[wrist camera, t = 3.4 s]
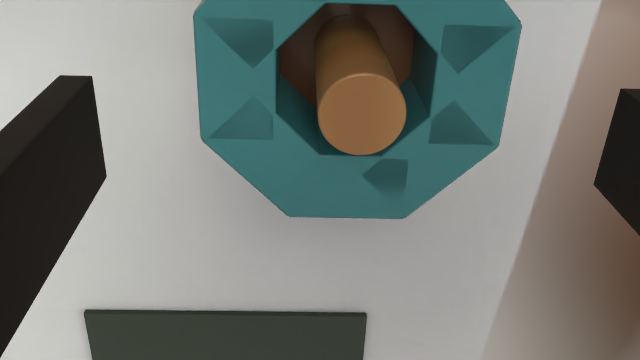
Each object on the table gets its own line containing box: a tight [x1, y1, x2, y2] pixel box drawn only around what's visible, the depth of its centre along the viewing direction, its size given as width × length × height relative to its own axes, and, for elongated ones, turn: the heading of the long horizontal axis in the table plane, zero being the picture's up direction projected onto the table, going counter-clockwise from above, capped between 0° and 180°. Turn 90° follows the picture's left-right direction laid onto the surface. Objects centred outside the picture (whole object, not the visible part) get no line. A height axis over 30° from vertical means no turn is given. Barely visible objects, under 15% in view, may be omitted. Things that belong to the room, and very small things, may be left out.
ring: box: [193, 0, 522, 219], centre depth 20 cm, size 10×10×4 cm
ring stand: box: [280, 3, 415, 155], centre depth 23 cm, size 8×8×16 cm
